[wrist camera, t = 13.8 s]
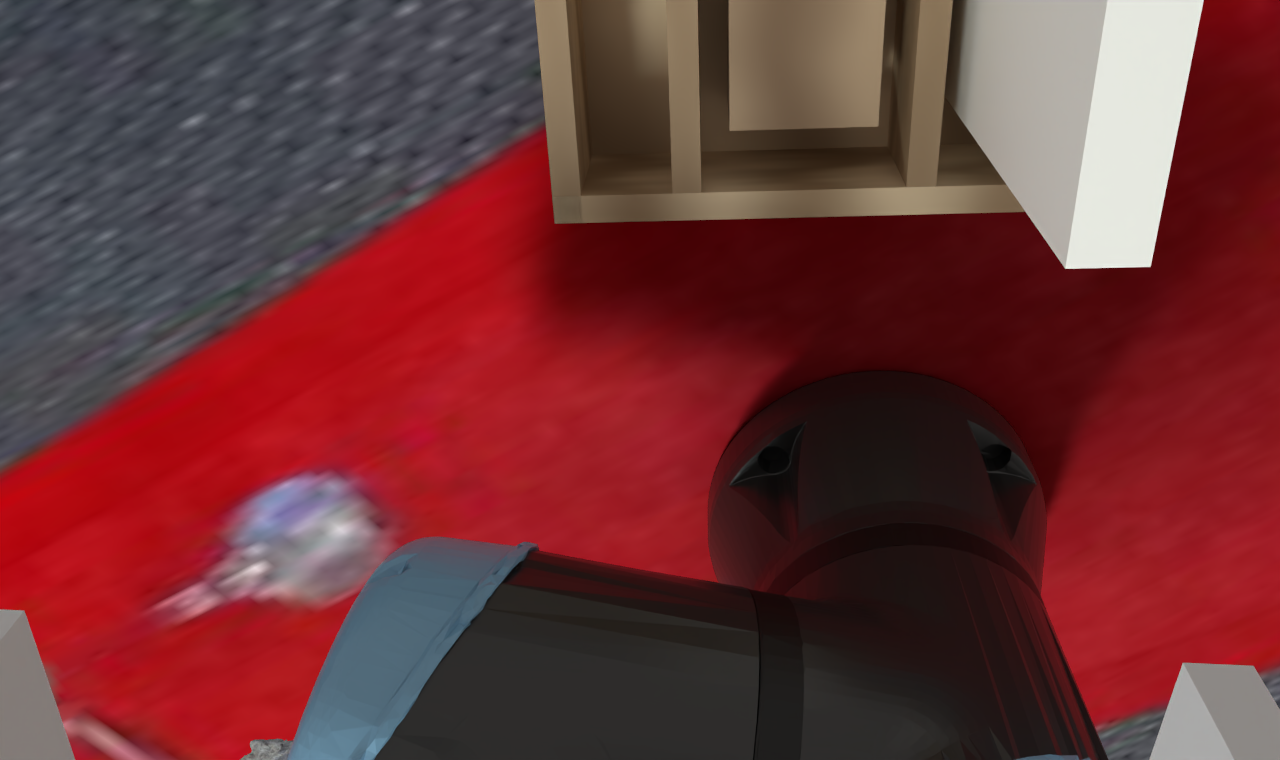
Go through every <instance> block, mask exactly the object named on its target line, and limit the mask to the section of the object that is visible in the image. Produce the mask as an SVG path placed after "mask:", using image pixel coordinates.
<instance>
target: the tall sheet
mask: <svg viewBox="0 0 1280 760" xmlns="http://www.w3.org/2000/svg"><path fill="white" fill-rule="evenodd" d="M1203 1H1204V0H953V5H952V16H951V27H950V38H949V49H948V60H947V71H946V82H945V93H944V96H945V97H946V99H947V100H948V102H949V103H950V104H951V106H952V107H953V109H954V110H955V112H956V113H957V114H958V116H959V117H960V119H961V120H962V122H963V123H964V124H965V126H966V127H967V129H968V130H969V132H970V133H971V135H972V136H973V137H974V139H975V140H976V142H977V143H978V145H979V146H980V147H981V149H982V150H983V152H984V153H985V155H986V156H987V157H988V159H989V160H990V162H991V163H992V165H993V166H994V167H995V169H996V170H997V172H998V173H999V175H1000V176H1001V177H1002V179H1003V180H1004V182H1005V183H1006V185H1007V186H1008V187H1009V189H1010V190H1011V192H1012V193H1013V195H1014V196H1015V198H1016V199H1017V200H1018V202H1019V203H1020V205H1021V206H1022V208H1023V209H1024V210H1025V212H1026V213H1027V215H1028V216H1029V218H1030V219H1031V220H1032V222H1033V223H1034V225H1035V226H1036V228H1037V229H1038V230H1039V232H1040V233H1041V235H1042V236H1043V238H1044V239H1045V240H1046V242H1047V243H1048V245H1049V246H1050V248H1051V249H1052V250H1053V252H1054V253H1055V255H1056V256H1057V258H1058V259H1059V261H1060V262H1061V263H1062V265H1063V266H1064V268H1065V269H1079V268H1126V267H1151V263H1152V258H1153V253H1154V248H1155V243H1156V238H1157V233H1158V227H1159V222H1160V217H1161V212H1162V207H1163V202H1164V197H1165V192H1166V187H1167V182H1168V177H1169V172H1170V167H1171V162H1172V157H1173V152H1174V147H1175V142H1176V137H1177V132H1178V127H1179V122H1180V117H1181V112H1182V107H1183V102H1184V97H1185V92H1186V87H1187V82H1188V77H1189V72H1190V67H1191V62H1192V57H1193V52H1194V46H1195V41H1196V36H1197V31H1198V26H1199V21H1200V16H1201V11H1202V6H1203Z"/></svg>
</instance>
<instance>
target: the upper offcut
mask: <svg viewBox="0 0 1280 760" xmlns="http://www.w3.org/2000/svg"><path fill="white" fill-rule="evenodd" d="M885 9H886V0H728V108H729V128H730V131H746V130H779V129H812V128H845V127H878V123H879V106H880V90H881V74H882V58H883V42H884V25H885Z"/></svg>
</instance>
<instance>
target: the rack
mask: <svg viewBox="0 0 1280 760" xmlns="http://www.w3.org/2000/svg"><path fill="white" fill-rule="evenodd" d="M952 5H953V0H886V9H885V25H884V42H883V58H882V74H881V90H880V106H879V123H878V127H845V128H812V129H779V130H746V131H730V128H729V114H728V98H727V0H535V11H536V22H537V33H538V44H539V55H540V66H541V77H542V88H543V99H544V110H545V121H546V132H547V144H548V155H549V166H550V177H551V188H552V199H553V210H554V221H555V224H562V223H602V222H642V221H682V220H722V219H762V218H802V217H841V216H881V215H921V214H961V213H1001V212H1025V210H1024V209H1023V208H1022V206H1021V205H1020V203H1019V202H1018V200H1017V199H1016V198H1015V196H1014V195H1013V193H1012V192H1011V190H1010V189H1009V187H1008V186H1007V185H1006V183H1005V182H1004V180H1003V179H1002V177H1001V176H1000V175H999V173H998V172H997V170H996V169H995V167H994V166H993V165H992V163H991V162H990V160H989V159H988V157H987V156H986V155H985V153H984V152H983V150H982V149H981V147H980V146H979V145H978V143H977V142H976V140H975V139H974V137H973V136H972V135H971V133H970V132H969V130H968V129H967V127H966V126H965V124H964V123H963V122H962V120H961V119H960V117H959V116H958V114H957V113H956V112H955V110H954V109H953V107H952V106H951V104H950V103H949V102H948V100H947V99H946V97H945V96H944V93H945V82H946V71H947V60H948V49H949V38H950V27H951V16H952Z"/></svg>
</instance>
